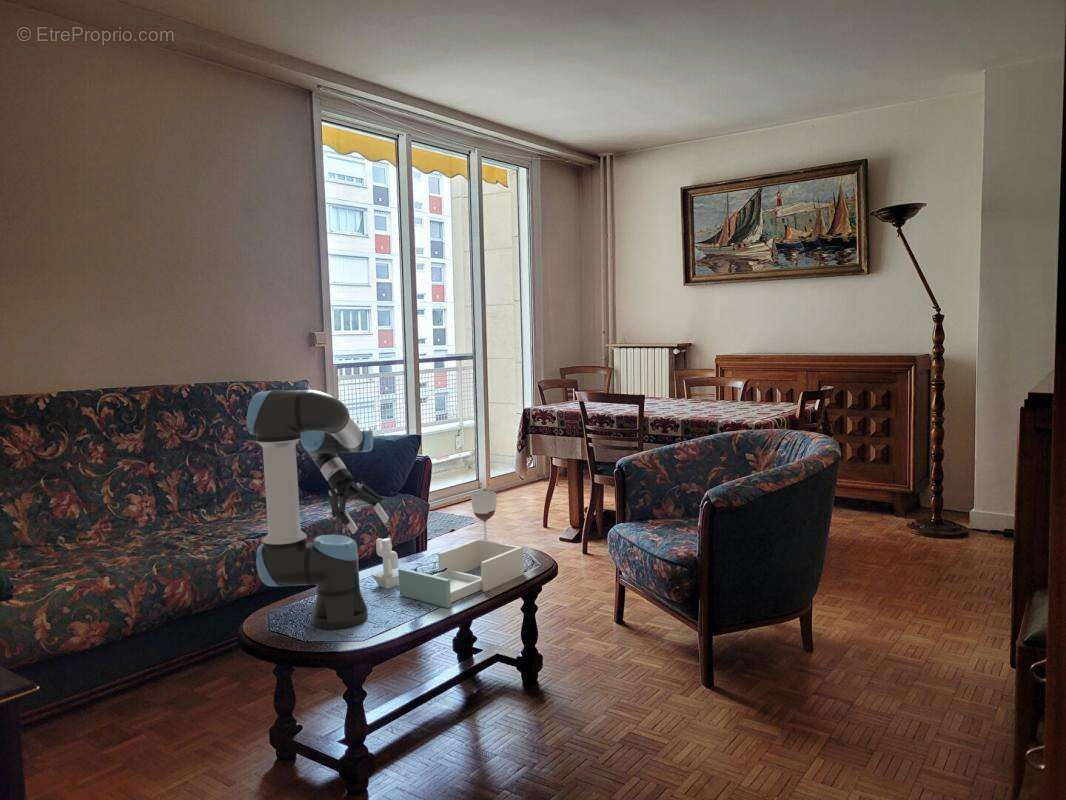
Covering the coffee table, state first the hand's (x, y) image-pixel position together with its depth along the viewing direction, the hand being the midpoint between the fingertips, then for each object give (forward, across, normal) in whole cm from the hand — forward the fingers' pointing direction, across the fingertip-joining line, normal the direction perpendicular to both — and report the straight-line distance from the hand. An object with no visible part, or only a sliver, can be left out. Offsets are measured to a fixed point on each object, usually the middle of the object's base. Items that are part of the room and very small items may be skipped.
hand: (371, 526), depth 248 cm
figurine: (+18, +2, -7) cm, 20 cm away
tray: (+32, -2, +8) cm, 34 cm away
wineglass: (+24, -38, -1) cm, 45 cm away
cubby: (+33, -19, +9) cm, 39 cm away
